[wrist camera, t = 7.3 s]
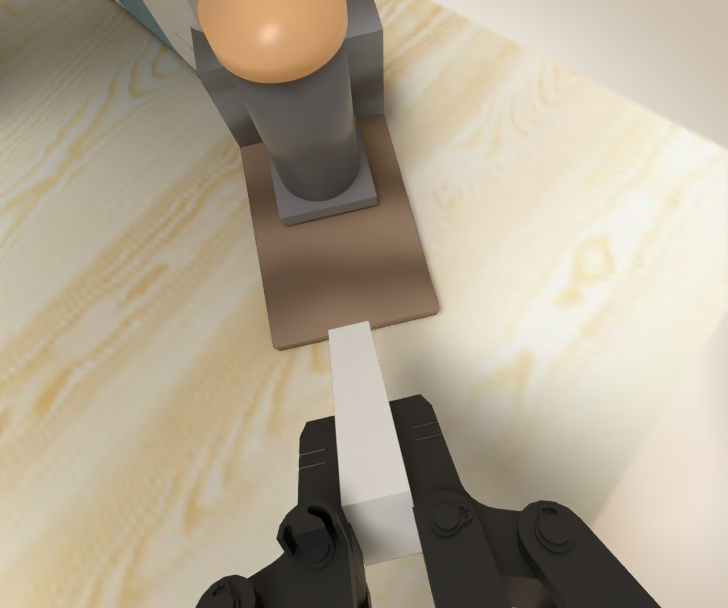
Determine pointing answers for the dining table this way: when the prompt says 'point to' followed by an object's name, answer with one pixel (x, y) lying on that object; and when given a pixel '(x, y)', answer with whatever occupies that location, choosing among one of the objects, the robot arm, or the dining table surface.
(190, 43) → the stereo radio cassette player
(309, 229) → the knob mount
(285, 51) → the knob
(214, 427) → the dining table surface
